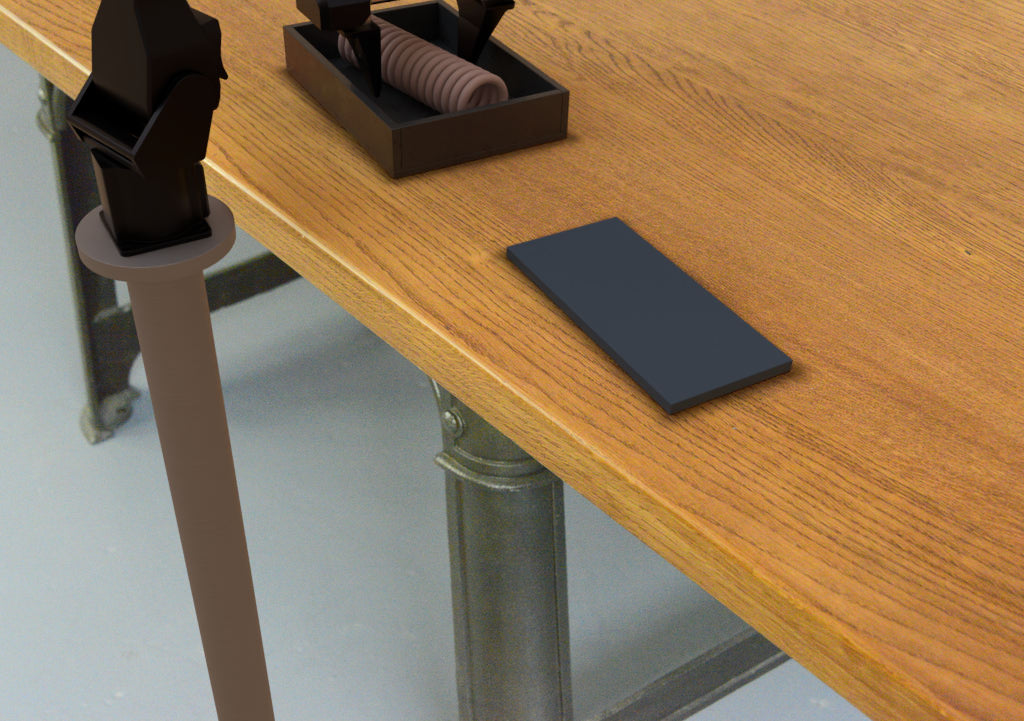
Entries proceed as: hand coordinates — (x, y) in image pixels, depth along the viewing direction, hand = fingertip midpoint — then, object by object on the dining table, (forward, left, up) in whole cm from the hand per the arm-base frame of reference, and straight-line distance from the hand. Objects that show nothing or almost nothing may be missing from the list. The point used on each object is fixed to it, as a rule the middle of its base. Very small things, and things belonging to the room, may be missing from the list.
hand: (420, 86), depth 97 cm
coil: (0, 0, -1) cm, 1 cm away
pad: (-1, -34, -2) cm, 34 cm away
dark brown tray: (0, 0, -2) cm, 2 cm away
